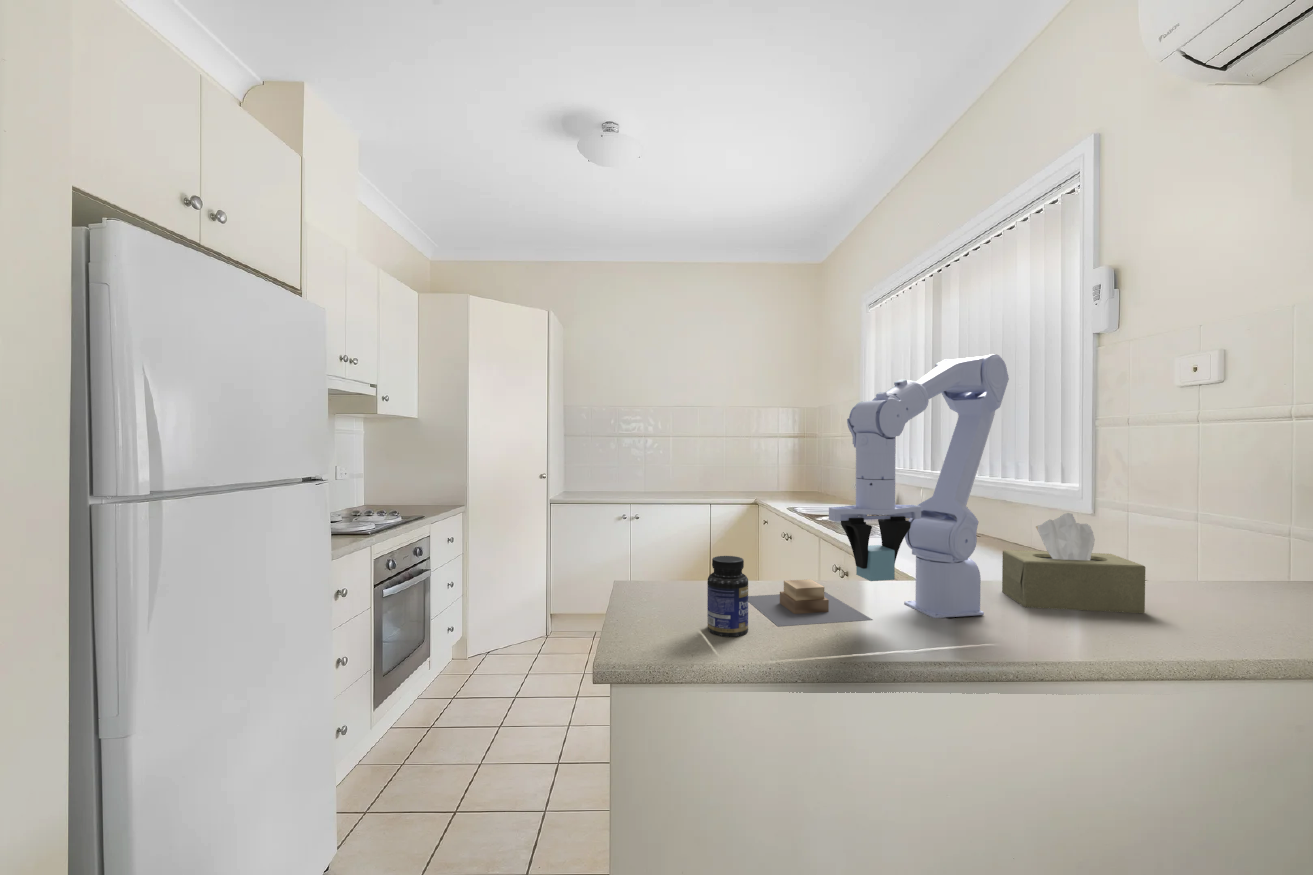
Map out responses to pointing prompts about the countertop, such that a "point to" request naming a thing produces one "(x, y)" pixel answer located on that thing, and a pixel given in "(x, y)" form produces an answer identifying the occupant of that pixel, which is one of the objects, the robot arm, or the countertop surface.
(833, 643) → the countertop surface
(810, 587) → the tower mid
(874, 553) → the block
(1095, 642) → the countertop surface
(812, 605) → the tower base
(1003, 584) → the tissue box
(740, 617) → the pill bottle
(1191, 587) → the countertop surface
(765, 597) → the mat
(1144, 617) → the countertop surface
